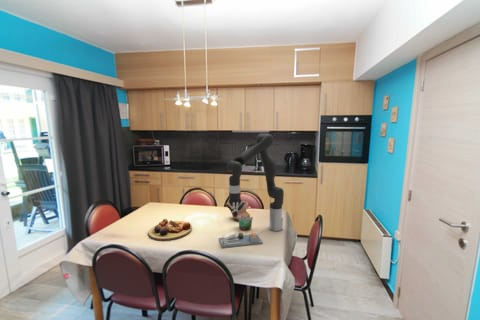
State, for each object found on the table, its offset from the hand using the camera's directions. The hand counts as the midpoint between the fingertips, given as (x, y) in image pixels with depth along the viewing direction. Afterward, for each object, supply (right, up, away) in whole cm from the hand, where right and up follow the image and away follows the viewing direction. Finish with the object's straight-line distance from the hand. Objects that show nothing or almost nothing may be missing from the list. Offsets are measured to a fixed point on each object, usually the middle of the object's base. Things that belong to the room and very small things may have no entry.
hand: (235, 216), depth 156 cm
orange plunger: (+13, -17, +5) cm, 22 cm away
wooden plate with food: (-50, -17, +23) cm, 57 cm away
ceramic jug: (+3, -13, +46) cm, 48 cm away
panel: (+3, -19, +6) cm, 20 cm away
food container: (+6, -16, +25) cm, 31 cm away
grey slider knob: (-7, -18, +1) cm, 19 cm away
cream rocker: (-4, -15, +7) cm, 17 cm away
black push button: (+4, -17, +9) cm, 19 cm away
